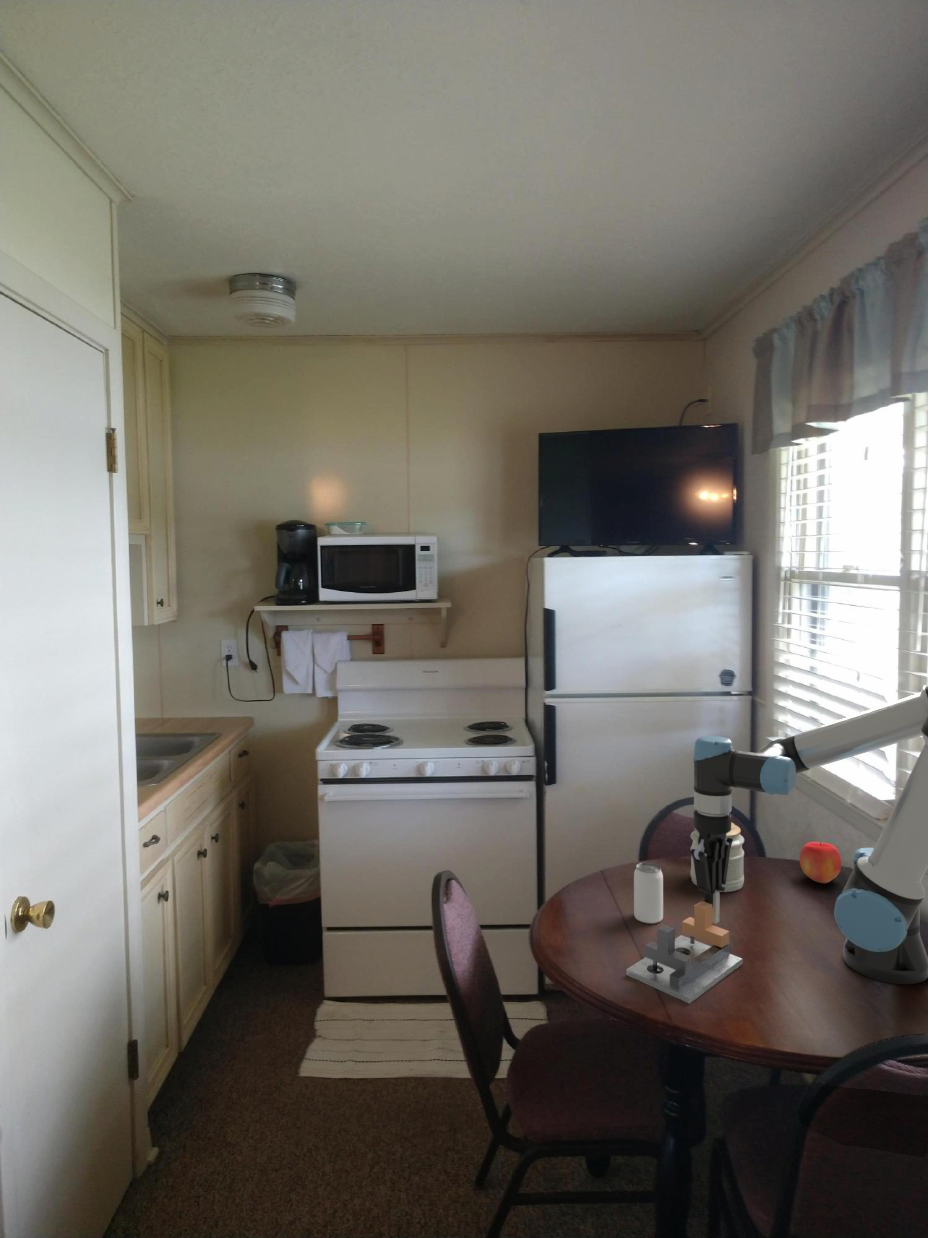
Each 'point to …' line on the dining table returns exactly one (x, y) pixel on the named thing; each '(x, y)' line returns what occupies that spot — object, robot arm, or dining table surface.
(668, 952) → the grey assembly fixture
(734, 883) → the jar
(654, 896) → the can
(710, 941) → the orange t-shaped block
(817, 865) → the apple
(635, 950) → the dining table surface
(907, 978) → the robot arm
